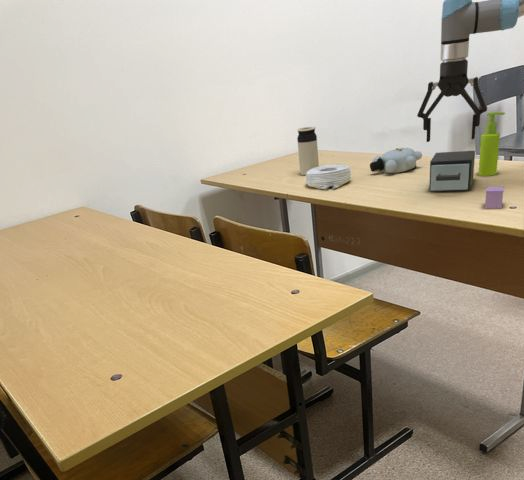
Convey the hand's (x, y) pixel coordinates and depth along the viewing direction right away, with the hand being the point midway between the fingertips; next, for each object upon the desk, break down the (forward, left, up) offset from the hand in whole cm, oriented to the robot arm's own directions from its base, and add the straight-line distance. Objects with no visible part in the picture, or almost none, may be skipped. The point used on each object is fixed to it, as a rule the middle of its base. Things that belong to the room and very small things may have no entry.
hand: (450, 139), depth 162 cm
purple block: (-14, +15, -17) cm, 26 cm away
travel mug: (+60, -40, -17) cm, 74 cm away
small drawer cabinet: (0, -11, -17) cm, 20 cm away
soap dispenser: (-11, -26, -17) cm, 33 cm away
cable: (+46, -20, -17) cm, 53 cm away
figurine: (+24, -38, -17) cm, 48 cm away
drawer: (0, -6, -16) cm, 17 cm away
